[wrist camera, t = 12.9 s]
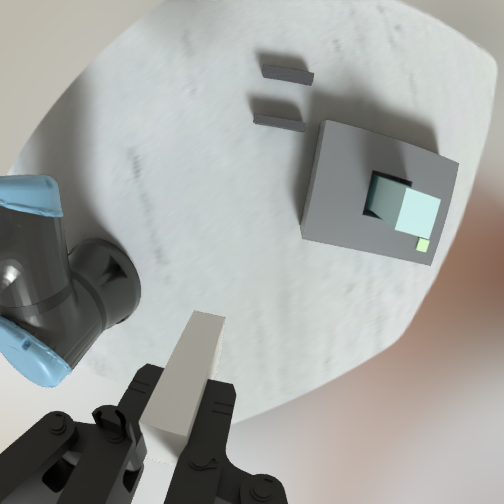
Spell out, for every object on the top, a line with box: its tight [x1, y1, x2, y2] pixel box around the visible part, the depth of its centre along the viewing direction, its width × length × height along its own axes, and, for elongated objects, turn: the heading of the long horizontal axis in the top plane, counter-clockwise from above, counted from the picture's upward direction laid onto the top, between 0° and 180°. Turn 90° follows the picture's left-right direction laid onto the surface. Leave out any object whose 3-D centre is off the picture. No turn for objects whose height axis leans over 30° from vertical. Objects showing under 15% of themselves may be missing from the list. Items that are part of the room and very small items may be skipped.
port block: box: [300, 120, 459, 266], centre depth 33 cm, size 18×14×5 cm
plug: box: [365, 174, 441, 239], centre depth 29 cm, size 4×4×12 cm
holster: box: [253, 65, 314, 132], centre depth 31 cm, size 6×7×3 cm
